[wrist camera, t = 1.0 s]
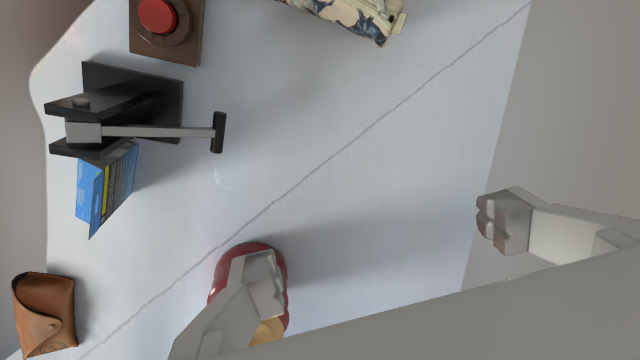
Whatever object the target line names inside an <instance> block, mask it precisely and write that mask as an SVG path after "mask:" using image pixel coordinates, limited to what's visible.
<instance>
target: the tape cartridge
mask: <svg viewBox="0 0 640 360" xmlns="http://www.w3.org/2000/svg"><path fill="white" fill-rule="evenodd" d="M137 151H138V144H136V143H132V142H126V143H125V144H124V145H122V146H121V147H119V148H118V149H116V150H115V151H113V152H112V153H110V154H109V155H108V156H106V157H105V158H103V159H102V160H100V161H94V160H87V159H81V158H78V172H77V196H76V215H75V216H76V217H77V218H79V219H81V220H83V221H85V222H87V223H89V224H90V229H89V240H90V238H91V237H92V236H93V235H94V234H95V232H96V231H97V230H98V229H99V228H100V226H101V225H102V224H103V223H104V222H105V221H106V220H107V219H108V218H109V217H110V216H111V215H112V214H113V212H114V211H115V210H116V209H117V208H118V207H119V206H120V205H121V204H122V203H123V202H124V201H125V200H126V199H127V197H128V196H129V195H130V194H131V193H132V187H133V181H134V173H135V166H136V158H137Z"/></svg>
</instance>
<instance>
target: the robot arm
mask: <svg viewBox="0 0 640 360" xmlns="http://www.w3.org/2000/svg"><path fill="white" fill-rule="evenodd" d="M476 206H477V207H478V208H479V209H480V211H479V212H478V214H477V215H476V223H477V226H478V229H479V231H480V232H481V234H482V235H483V236H484V237H485V238H486V239H489V240H492V241H494V246H495V247H496V248H497V249H498V250H499V251H500V252H501V253H502V254H503V255H504V256H510V255H514V254H519V253H523V252H527V251H528V252H529V253H531V254H533V255H536V256H538V257H540V258H543V259H545V260H548V261H550V262H552V263H555V264H557V265H559V266H555V267H552V268H548V269H544V270H540V271H537V272H532V273H529V274H525V275H521V276H518V277H514V278H510V279H506V280H502V281H498V282H495V283H491V284H487V285H483V286H479V287H476V288H471V289H468V290H464V291H460V292H456V293H453V294H449V295H445V296H441V297H437V298H434V299H430V300H426V301H422V302H418V303H414V304H411V305H407V306H403V307H399V308H395V309H392V310H388V311H384V312H380V313H376V314H373V315H369V316H365V317H361V318H357V319H353V320H350V321H346V322H342V323H338V324H334V325H331V326H327V327H323V328H319V329H315V330H312V331H308V332H304V333H300V334H296V335H292V336H289V337H285V338H281V339H277V340H273V341H270V342H266V343H262V344H258V345H254V346H250V347H248V345H249V344H250V342H251V340H252V338H253V337H254V335H255V333H256V331H257V329H258V328H259V326H260V324H261V322H262V320H266V319H269V318H273V317H276V316H280V315H283V314H284V298H283V295H282V293H283V291H284V284H283V278H282V274H281V270H280V267H279V266H278V265H276V256H275V253H274V250H273V249H268V250H264V251H260V252H255V253H251V254H247V255H243V256H239V257H235V258H233V260H232V263H231V268H230V273H229V277H228V282H227V287H226V288H224V289H222V290H221V291H220V292H219V293H218V294H217V295H216V296H215V297H214V298H213V299H212V301H211V302H210V303H209V304H208V305H207V306H206V307H205V308H204V309H203V310H202V311H201V312H200V313H199V314H198V315H197V316H196V318H195V319H194V320H193V321H192V322H191V323H190V324H189V325H188V326H187V327H186V328H185V329H184V330H183V331H182V332H181V334H180V335H179V336H178V337H177V338H176V339H175V340H174V343H173V346H172V349H171V352H170V354H169V357H168V360H640V220H638V219H632V218H627V217H622V216H617V215H611V214H606V213H601V212H596V211H590V210H585V209H580V208H575V207H569V206H563V205H559V204H551V205H550V204H548V203H547V202H545V201H543V200H541V199H540V198H538V197H536V196H535V195H533V194H531V193H530V192H528V191H526V190H525V189H523V188H521V187H518V186H514V187H510V188H507V189H504V190H501V191H497V192H494V193H490V194H486V195H482V196H479V197H478V198H477V201H476Z"/></svg>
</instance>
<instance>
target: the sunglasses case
mask: <svg viewBox="0 0 640 360" xmlns="http://www.w3.org/2000/svg"><path fill="white" fill-rule="evenodd" d="M11 290H12V295H13V305H14V313H15V320H16V325H17V331H18V337H19V342H20V346H21V350H22V354H23V360H26V358H30V357H34V356H38V355H42V354H46V353H50V352H54V351H58V350H62V349H65V348H69V347H78V346H79V344H78V340H77V337H76V331H75V322H74V281H73V280H72V279H70V278H67V277H63V276H59V275H53V274H46V273H38V272H25V273H22V274H19V275H18V276H16V277H15V278H14V279H13V280H12V282H11Z"/></svg>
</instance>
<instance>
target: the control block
mask: <svg viewBox="0 0 640 360" xmlns="http://www.w3.org/2000/svg"><path fill="white" fill-rule="evenodd" d="M141 1H142V0H129V51H130V53H134V54H139V55H143V56H148V57H152V58H157V59H161V60H166V61H170V62H174V63H179V64H183V65H188V66H192V67H198V66H200V59H201V46H202V33H203V20H204V7H205V0H164V1H166V2H168V3H169V4H170V5H171V6H172V7H173V9H174V11H175V13H176V17H177V22H176V26H175V28H174V29H173V30H172V31H171V32H169V33H154V32H152V31H150V30H148V29H147V28H146V27H145V26H144V25H143V24H142V23H141V21H140V19H139V15H138V7H139V4H140V2H141Z"/></svg>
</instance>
